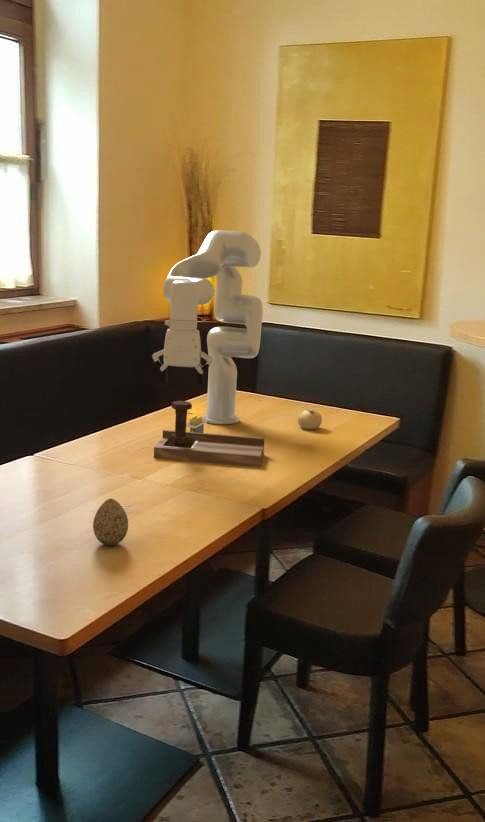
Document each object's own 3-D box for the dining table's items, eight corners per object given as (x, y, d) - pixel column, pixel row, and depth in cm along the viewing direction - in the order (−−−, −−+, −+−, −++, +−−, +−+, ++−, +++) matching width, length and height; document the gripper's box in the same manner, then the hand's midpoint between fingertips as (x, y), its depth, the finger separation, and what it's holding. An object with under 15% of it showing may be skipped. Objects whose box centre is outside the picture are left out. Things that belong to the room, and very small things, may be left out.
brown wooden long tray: (162, 446, 240) (163, 429, 239) (263, 454, 237) (264, 438, 236) (153, 457, 229) (154, 440, 227) (259, 466, 226) (260, 449, 224)
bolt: (190, 451, 236) (193, 401, 233) (187, 456, 231) (190, 405, 228) (171, 450, 237) (173, 400, 233) (167, 454, 232) (170, 403, 228)
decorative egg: (85, 545, 167) (85, 499, 165) (108, 535, 173) (109, 490, 171) (112, 554, 163) (112, 507, 161) (134, 543, 169) (135, 498, 167)
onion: (292, 427, 270) (293, 406, 268) (308, 424, 275) (310, 403, 274) (309, 432, 264) (311, 411, 263) (326, 429, 270) (327, 408, 268)
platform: (165, 442, 246) (166, 421, 245) (189, 428, 263) (190, 409, 261) (201, 447, 242) (202, 426, 241) (224, 434, 259) (225, 414, 257)
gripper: (149, 325, 222) (148, 386, 227) (212, 329, 221) (209, 390, 225) (155, 321, 230) (154, 380, 234) (216, 325, 228) (214, 384, 232)
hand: (181, 385), depth 230 cm, fingers open, 9 cm apart
